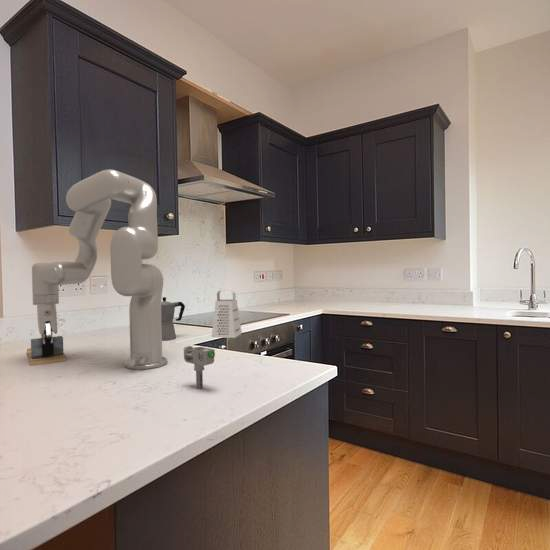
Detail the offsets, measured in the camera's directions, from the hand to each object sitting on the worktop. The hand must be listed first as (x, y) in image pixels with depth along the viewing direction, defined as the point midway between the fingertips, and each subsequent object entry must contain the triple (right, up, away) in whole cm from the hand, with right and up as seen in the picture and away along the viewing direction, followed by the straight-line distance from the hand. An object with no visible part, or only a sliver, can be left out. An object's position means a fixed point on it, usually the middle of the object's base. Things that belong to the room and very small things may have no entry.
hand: (47, 353), depth 129 cm
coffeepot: (+30, -1, +37) cm, 48 cm away
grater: (+55, -1, +43) cm, 70 cm away
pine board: (-4, -2, +7) cm, 8 cm away
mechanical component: (+57, -2, -32) cm, 66 cm away
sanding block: (0, -1, 0) cm, 1 cm away
